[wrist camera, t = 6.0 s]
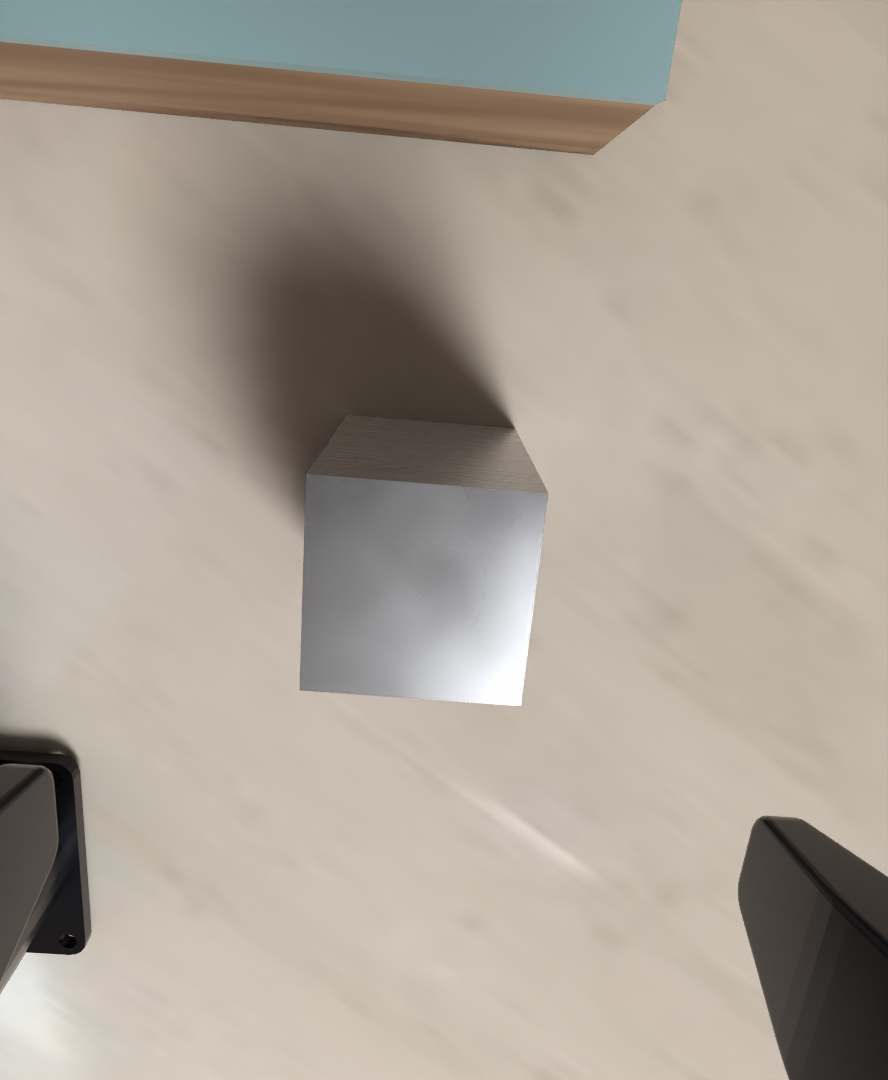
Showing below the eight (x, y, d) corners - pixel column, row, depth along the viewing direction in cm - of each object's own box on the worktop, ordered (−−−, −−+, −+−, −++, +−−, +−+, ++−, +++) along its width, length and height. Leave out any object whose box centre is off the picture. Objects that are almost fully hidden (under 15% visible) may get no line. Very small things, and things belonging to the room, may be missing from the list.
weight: (497, 584, 20) (520, 705, 14) (339, 572, 20) (300, 690, 14) (515, 428, 19) (548, 493, 13) (347, 414, 19) (306, 473, 13)
